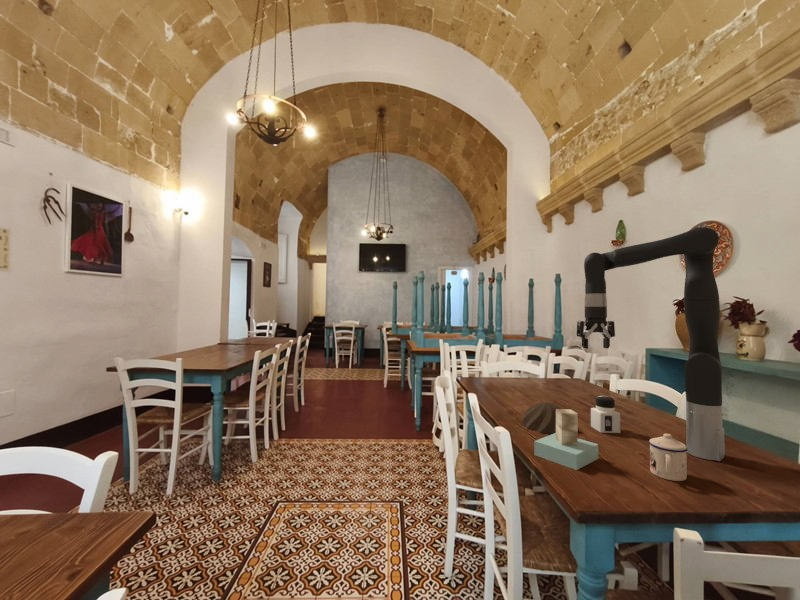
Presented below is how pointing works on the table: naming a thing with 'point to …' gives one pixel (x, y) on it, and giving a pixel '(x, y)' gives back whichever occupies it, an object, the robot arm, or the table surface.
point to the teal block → (566, 452)
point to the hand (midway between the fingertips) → (595, 348)
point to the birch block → (566, 427)
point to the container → (605, 416)
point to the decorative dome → (541, 418)
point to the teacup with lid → (668, 458)
